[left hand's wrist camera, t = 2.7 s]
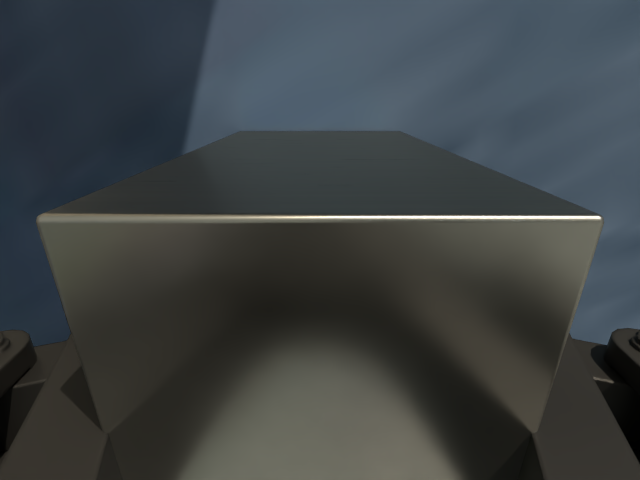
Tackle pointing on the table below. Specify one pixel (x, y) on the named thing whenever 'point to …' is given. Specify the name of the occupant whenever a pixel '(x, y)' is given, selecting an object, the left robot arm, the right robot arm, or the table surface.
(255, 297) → the box
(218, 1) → the table surface
